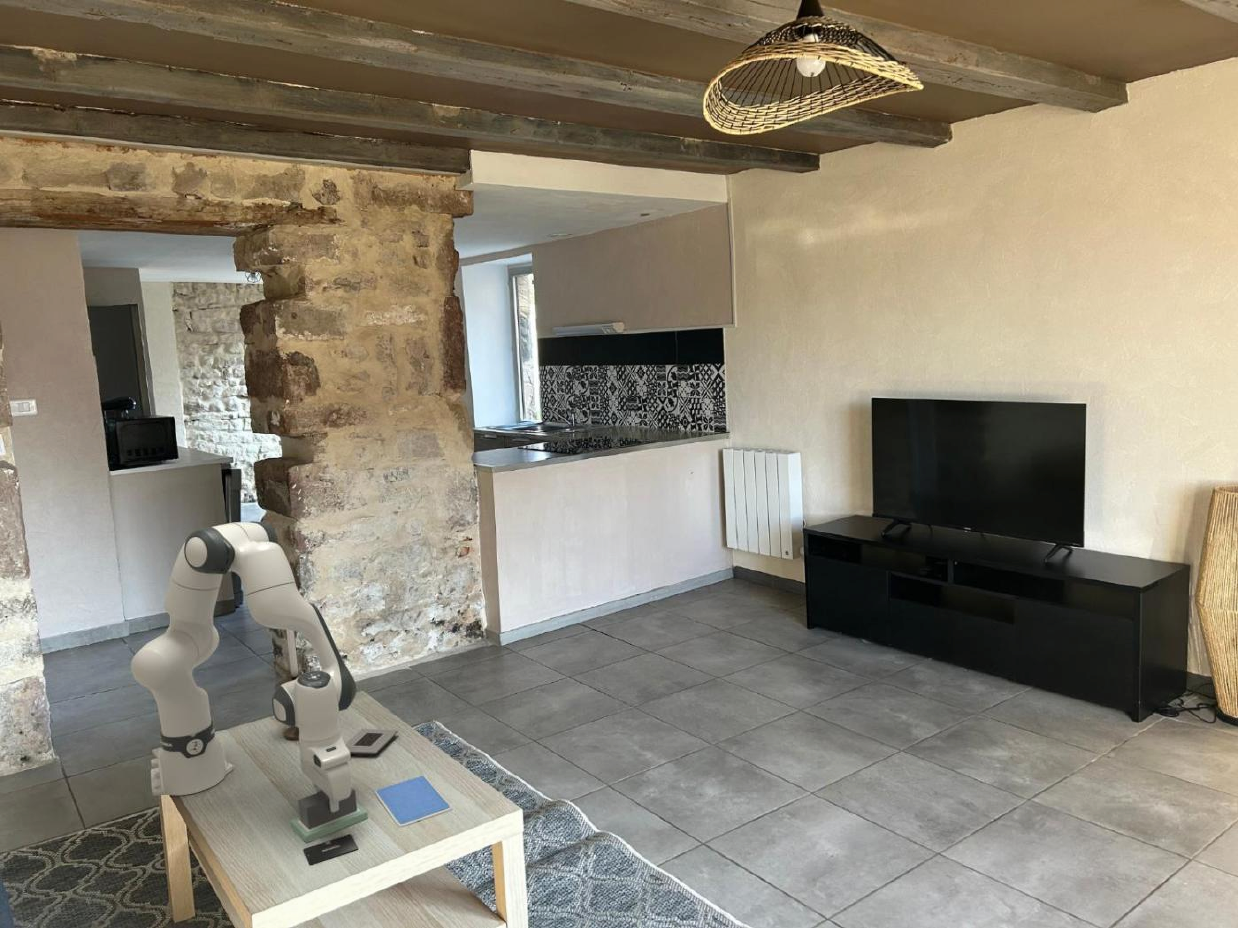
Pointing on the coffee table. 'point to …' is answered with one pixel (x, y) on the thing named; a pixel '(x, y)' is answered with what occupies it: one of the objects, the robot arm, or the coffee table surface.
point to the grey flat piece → (370, 741)
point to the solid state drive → (330, 849)
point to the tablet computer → (412, 801)
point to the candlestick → (291, 732)
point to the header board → (328, 825)
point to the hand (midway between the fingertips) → (327, 804)
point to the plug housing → (324, 809)
